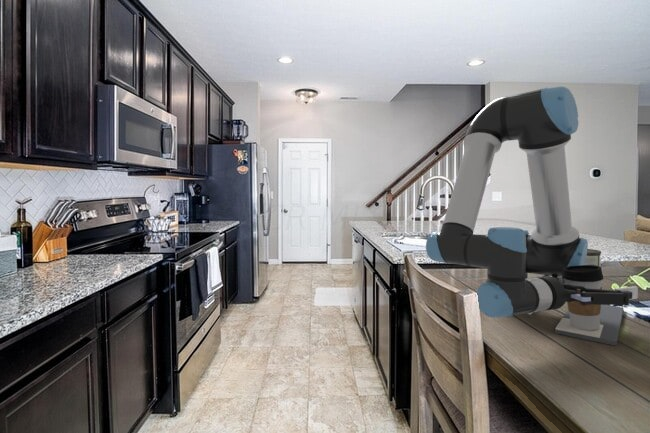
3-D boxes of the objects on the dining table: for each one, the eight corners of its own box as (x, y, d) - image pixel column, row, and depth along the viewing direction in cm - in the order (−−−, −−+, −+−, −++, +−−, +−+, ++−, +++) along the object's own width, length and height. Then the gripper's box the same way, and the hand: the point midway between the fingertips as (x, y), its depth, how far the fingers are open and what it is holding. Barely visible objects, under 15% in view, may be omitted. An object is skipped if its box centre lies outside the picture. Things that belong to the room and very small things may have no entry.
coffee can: (559, 285, 137) (560, 248, 136) (588, 285, 136) (589, 248, 135) (575, 292, 127) (576, 252, 126) (607, 292, 126) (608, 252, 125)
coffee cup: (610, 333, 85) (607, 271, 84) (567, 330, 89) (564, 271, 88) (601, 320, 93) (598, 263, 92) (562, 318, 97) (559, 263, 96)
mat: (616, 345, 83) (616, 340, 82) (554, 333, 91) (555, 328, 90) (623, 310, 106) (623, 306, 106) (574, 303, 114) (574, 299, 114)
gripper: (497, 296, 95) (558, 288, 101) (594, 328, 71) (665, 316, 78) (498, 267, 94) (558, 262, 101) (595, 291, 71) (666, 281, 77)
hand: (605, 285), depth 89 cm, fingers open, 13 cm apart
